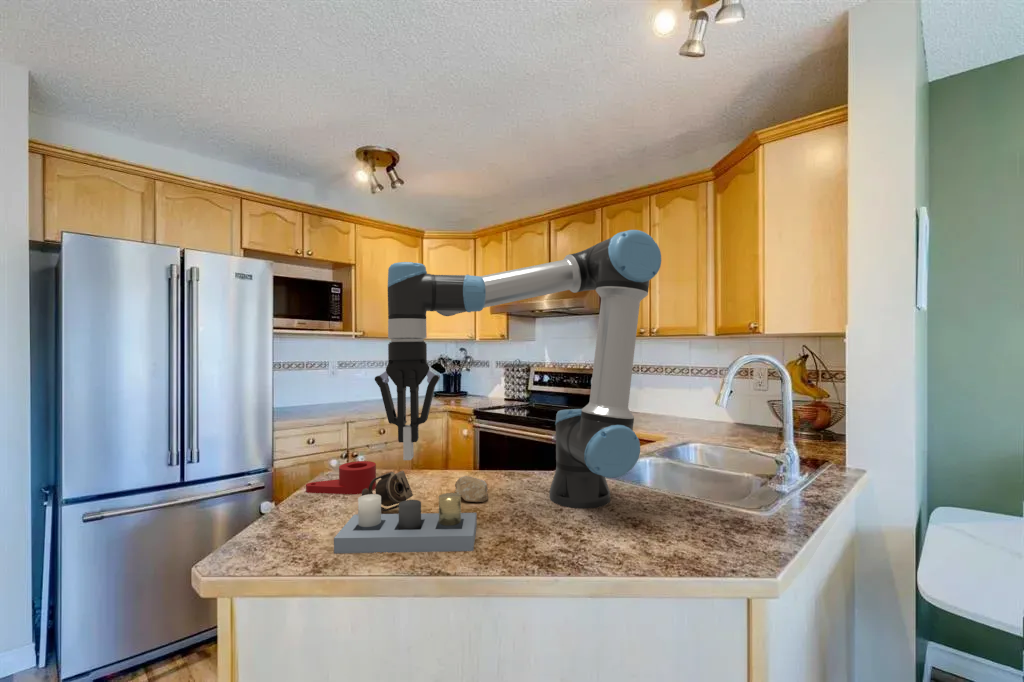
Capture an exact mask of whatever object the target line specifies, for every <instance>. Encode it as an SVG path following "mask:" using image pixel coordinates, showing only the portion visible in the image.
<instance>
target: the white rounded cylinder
mask: <svg viewBox="0 0 1024 682" xmlns="http://www.w3.org/2000/svg"><path fill="white" fill-rule="evenodd" d="M357 504H358V505H357V510H358V511H357V514H358V525H359V526H361V527H372V526H376V525H378V524H380V523H381V514H382V511H381V507H382V504H381V496H380V495H378V494H376V493H373V494H368V495H363V496H362V495H361V496H359V497H358V498H357Z"/></svg>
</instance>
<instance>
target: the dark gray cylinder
mask: <svg viewBox="0 0 1024 682" xmlns="http://www.w3.org/2000/svg"><path fill="white" fill-rule="evenodd" d="M398 505H399V507H398V514H399V530H420V529H421V513H422V501H420V500H418V499H407V500H405V501H402V502H400V503H398Z"/></svg>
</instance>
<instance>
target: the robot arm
mask: <svg viewBox="0 0 1024 682" xmlns="http://www.w3.org/2000/svg"><path fill="white" fill-rule="evenodd" d="M661 265H662V253H661V249H660V246H659V245H658V243H657V242H656V241H655V240H654V238H653V237H652V236H651V235H650V234H648V233H647V232H645V231H643V230H639V229H629V230H625V231H620V232H617V233H616V234H614V235H613V236H612V237H610V238H607V239H605V240H603V241H600V242H598V243H596V244H595V245H593V246H590V247H589V248H586V249H584V250H581V251H579V252H575V253H570V254H567V255H565V256H564V258H563V259H562V260H561V259H560V260H556V261H551V262H546V263H541V264H537V265H536V264H535V265H531V266H525V267H520V268H516V269H511V270H506V271H501V272H500V271H499V272H495V273H491V274H485V275H470V274H432V273H428V271H427V267H426V266H425V264H423V263H419V262H411V261H401V262H399V261H398V262H394V263H392V264H391V265H390V266H389V267H388V268H387V270H388V272H387V318H388V319H387V338H388V339H389V340H390V341H389V343H388V344H387V347H388V349H387V351H388V353H387V356H388V359H387V361H388V362H387V366H386V368H385V371H384V372H382V373H380V375H376V376H375V377H374V381H375V383H376V385H377V386H378V387H379V391H380V394H381V398H382V402H383V406H384V410H385V413H386V417H387V422H388V423H389V424H390V425H391V424H392V425H396V427H397V441H398V443H402V446H403V454H402V455H403V458H402V459H403V461H412V459H413V458H414V454H415V453H414V443H417V442H418V440H419V438H420V437H419V425H422V424H425V423H426V422H427V421H428V419H429V415H430V410H431V407H432V401H433V398H434V393H435V388H436V385H437V384H438V382H439V381H440V380H441V375H439V374H435V373H434V372H432V371H431V369H430V366H429V365H428V361H427V359H428V357H427V351H428V350H427V349H428V348H427V347H428V346H427V343H426V341H425V339H427V312H436V313H437V314H439V315H441V316H443V317H452V316H455V315H458V314H462V313H472V312H473V313H474V312H475V313H476V312H481V311H482V310H483V309H486V308H489V307H494V306H499V305H503V304H504V305H505V304H508V303H512V302H518V301H523V300H528V299H532V298H537V297H540V296H541V297H542V296H547V295H551V294H556V293H560V292H564V291H570V292H571V293H575V294H576V293H579V292H585V291H594V290H595V292H596V293H597V294H598V296H599V297H600V306H599V307H600V308H599V313H598V314H599V317H598V325H597V332H596V342H595V351H594V360H593V369H592V375H591V376H592V377H591V383H590V384H591V386H590V393H589V394H590V395H589V402H588V403H587V404H586V405H585V406H584V407H582V408H574V409H573V408H571V409H570V408H569V409H560V410H558V411H557V413H556V414H555V415H556V416H555V423H554V425H555V460H556V461H555V463H556V467H555V472H554V475H553V479H552V482H551V485H550V487H549V488H550V489H549V500H550V501H551V503H554V504H556V505H558V506H561V507H564V508H571V509H579V510H580V509H587V510H588V509H596V508H601V507H604V506H606V505H608V504H610V502H611V492H610V488H609V485H608V482H607V479H608V478H609V479H614V478H615V479H616V478H619V477H623V476H625V475H626V474H628V472H630V471H631V470H632V469H634V467H635V466H636V465H637V463H638V461H639V458H640V454H641V443H640V439H639V437H638V436H637V433H636V432H635V431H634V424H635V423H634V421H635V415H633V413H632V412H631V411H630V409H629V402H630V393H631V387H632V386H631V383H632V375H633V367H634V357H635V350H636V349H635V348H636V339H637V332H638V331H637V330H638V323H639V312H640V305H641V304H640V303H641V302H642V301H643V300H645V298H646V297H647V296H648V295H649V288H650V281H651V280H652V279H653V278H654V277H655V276H656V275H657V274H658V272H659V271H660V269H661ZM426 377H427V378H426ZM425 378H426V381H427V383H428V385H427V387H426V391H425V395H424V400H423V403H422V404H423V405H422V409H421V413H419V412H420V410H419V409H420V407H419V401H420V400H419V394H420V393H419V392H420V386H421V384H422V382H423V381H424V379H425ZM390 379H391V382H393V384H394V385H395V386H396V395H397V396H396V398H397V399H396V401H397V402H396V403H397V404H396V405H397V406H396V407H397V409H395V405H394V400H393V398H392V397H393V396H392V393H391V390H390V386H389V381H390ZM407 388H409V393H410V394H409V396H410V398H409V399H410V401H409V402H410V404H409V406H410V407H409V408H410V411H409V412H410V424H406V423H407V399H406V398H407ZM396 410H397V413H396ZM606 478H607V479H606Z"/></svg>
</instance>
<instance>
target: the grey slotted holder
mask: <svg viewBox="0 0 1024 682" xmlns="http://www.w3.org/2000/svg"><path fill="white" fill-rule="evenodd" d="M477 519H478V518H477V512H461V522H460V523H459V524H456V525H451V526H445V525H441V524H440V523H439V512H438V513H436V512H430V513H429V512H428V513H427V512H426V513H425V512H423V513H422V512H421V529H420V530H399V513H381V523H380V524H378V525H376V526H372V527H361V526H359V525H358V513H357V514H353V515H352V516H351V517H350V519H349V520H348V521H346V524H344V526H343V527H342V528H341V529H340V530H339V532H337V534H336V535H335V536H334V537H333V554H375V553H376V552H380V554H381V553H382V552H383V553H384V552H385V553H386V552H388V553H437V552H439V553H440V552H442V553H443V552H445V553H446V552H447V553H449V552H474V548H475V541H476V533H477V523H478V521H477ZM374 552H375V553H374Z"/></svg>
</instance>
